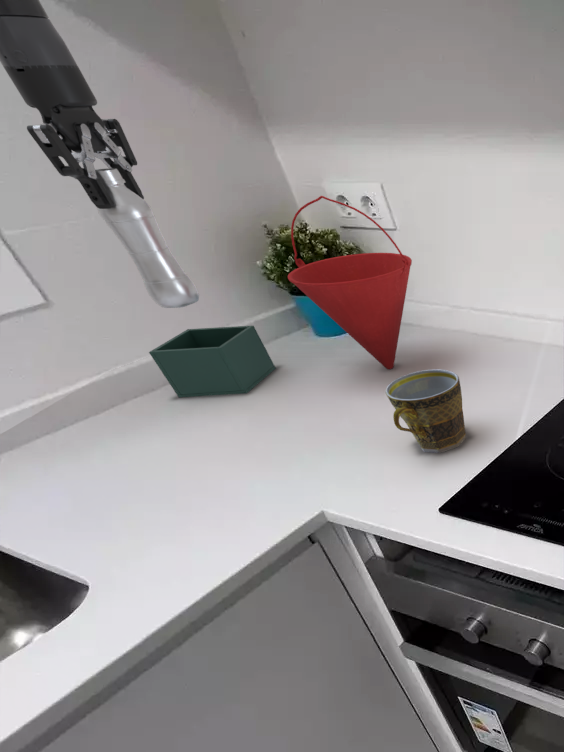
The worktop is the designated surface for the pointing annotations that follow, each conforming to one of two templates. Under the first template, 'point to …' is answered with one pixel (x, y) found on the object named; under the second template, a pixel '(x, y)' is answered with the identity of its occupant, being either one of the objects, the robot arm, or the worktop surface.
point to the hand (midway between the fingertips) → (121, 203)
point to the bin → (214, 361)
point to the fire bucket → (359, 293)
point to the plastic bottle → (145, 244)
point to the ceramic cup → (429, 408)
